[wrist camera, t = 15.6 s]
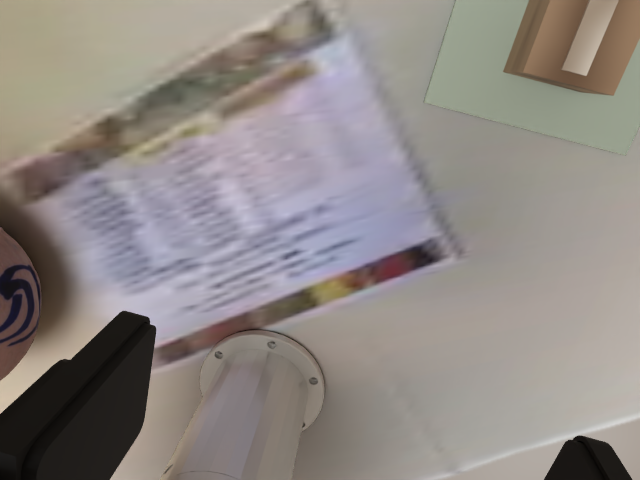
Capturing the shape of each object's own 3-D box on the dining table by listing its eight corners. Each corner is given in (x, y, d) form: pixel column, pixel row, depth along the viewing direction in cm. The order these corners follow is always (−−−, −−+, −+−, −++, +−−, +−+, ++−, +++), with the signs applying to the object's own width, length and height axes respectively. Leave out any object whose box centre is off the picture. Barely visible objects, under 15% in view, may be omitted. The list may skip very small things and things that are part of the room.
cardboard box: (639, -43, 31) (687, -64, 27) (581, 92, 35) (615, 95, 30) (552, -66, 32) (585, -90, 27) (502, 71, 35) (524, 72, 30)
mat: (622, 154, 36) (625, 155, 36) (423, 102, 36) (424, 102, 36) (737, -82, 30) (741, -84, 30) (500, -142, 31) (501, -145, 30)
